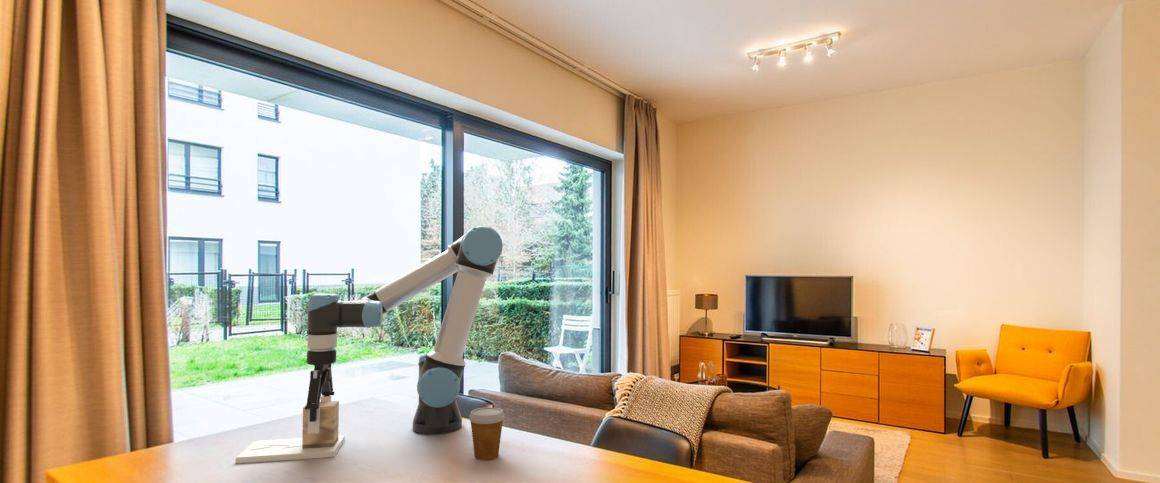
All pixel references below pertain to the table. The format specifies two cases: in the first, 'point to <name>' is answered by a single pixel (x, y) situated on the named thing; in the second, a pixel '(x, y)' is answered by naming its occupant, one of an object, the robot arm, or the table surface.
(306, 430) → the block
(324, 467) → the table surface
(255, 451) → the board
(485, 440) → the disposable coffee cup
